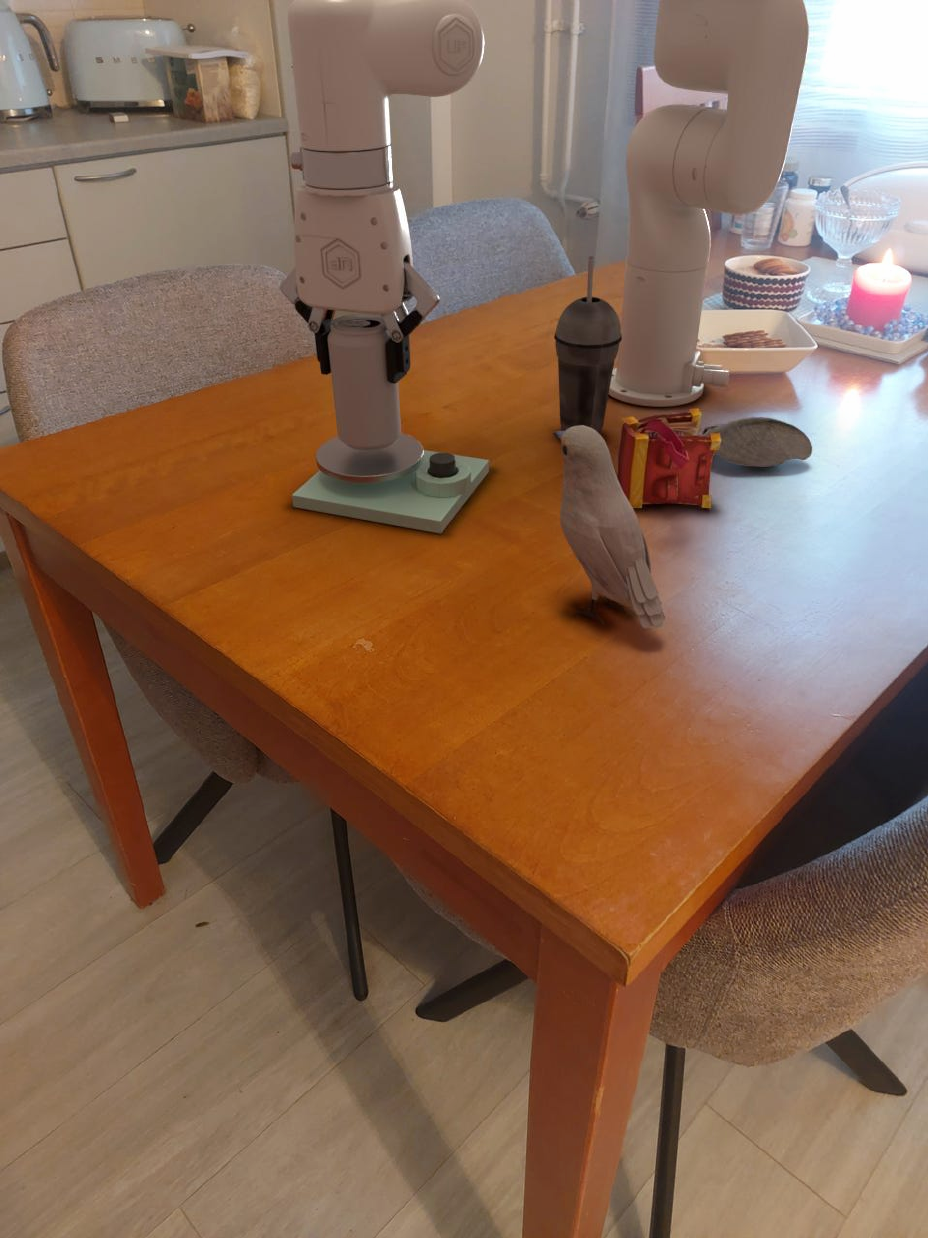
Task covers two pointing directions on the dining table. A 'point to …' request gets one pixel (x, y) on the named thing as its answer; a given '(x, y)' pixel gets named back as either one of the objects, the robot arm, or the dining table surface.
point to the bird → (605, 529)
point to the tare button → (442, 465)
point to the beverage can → (363, 383)
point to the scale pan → (369, 460)
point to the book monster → (666, 460)
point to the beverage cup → (586, 358)
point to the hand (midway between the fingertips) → (364, 372)
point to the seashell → (760, 441)
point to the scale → (397, 495)
